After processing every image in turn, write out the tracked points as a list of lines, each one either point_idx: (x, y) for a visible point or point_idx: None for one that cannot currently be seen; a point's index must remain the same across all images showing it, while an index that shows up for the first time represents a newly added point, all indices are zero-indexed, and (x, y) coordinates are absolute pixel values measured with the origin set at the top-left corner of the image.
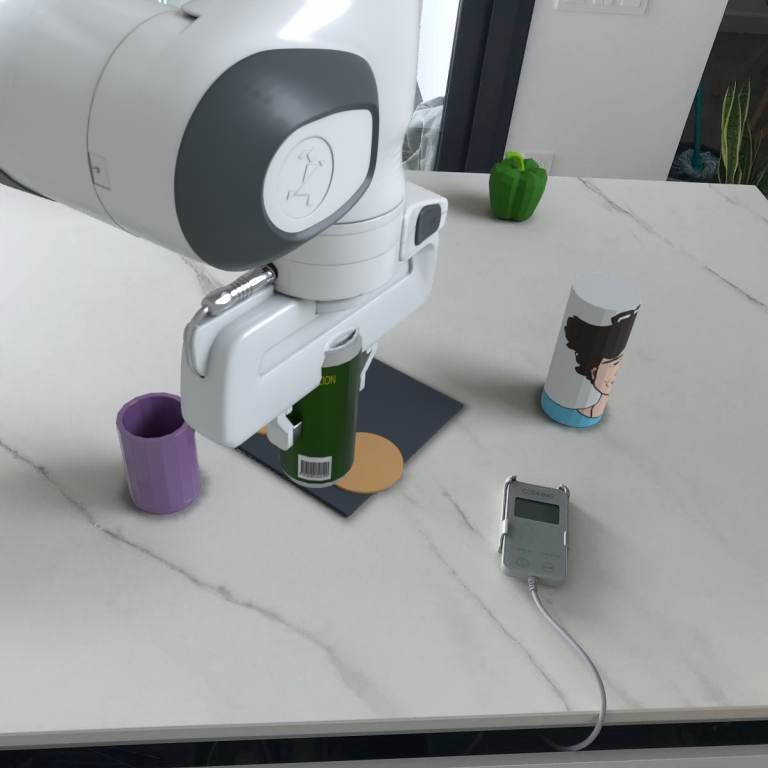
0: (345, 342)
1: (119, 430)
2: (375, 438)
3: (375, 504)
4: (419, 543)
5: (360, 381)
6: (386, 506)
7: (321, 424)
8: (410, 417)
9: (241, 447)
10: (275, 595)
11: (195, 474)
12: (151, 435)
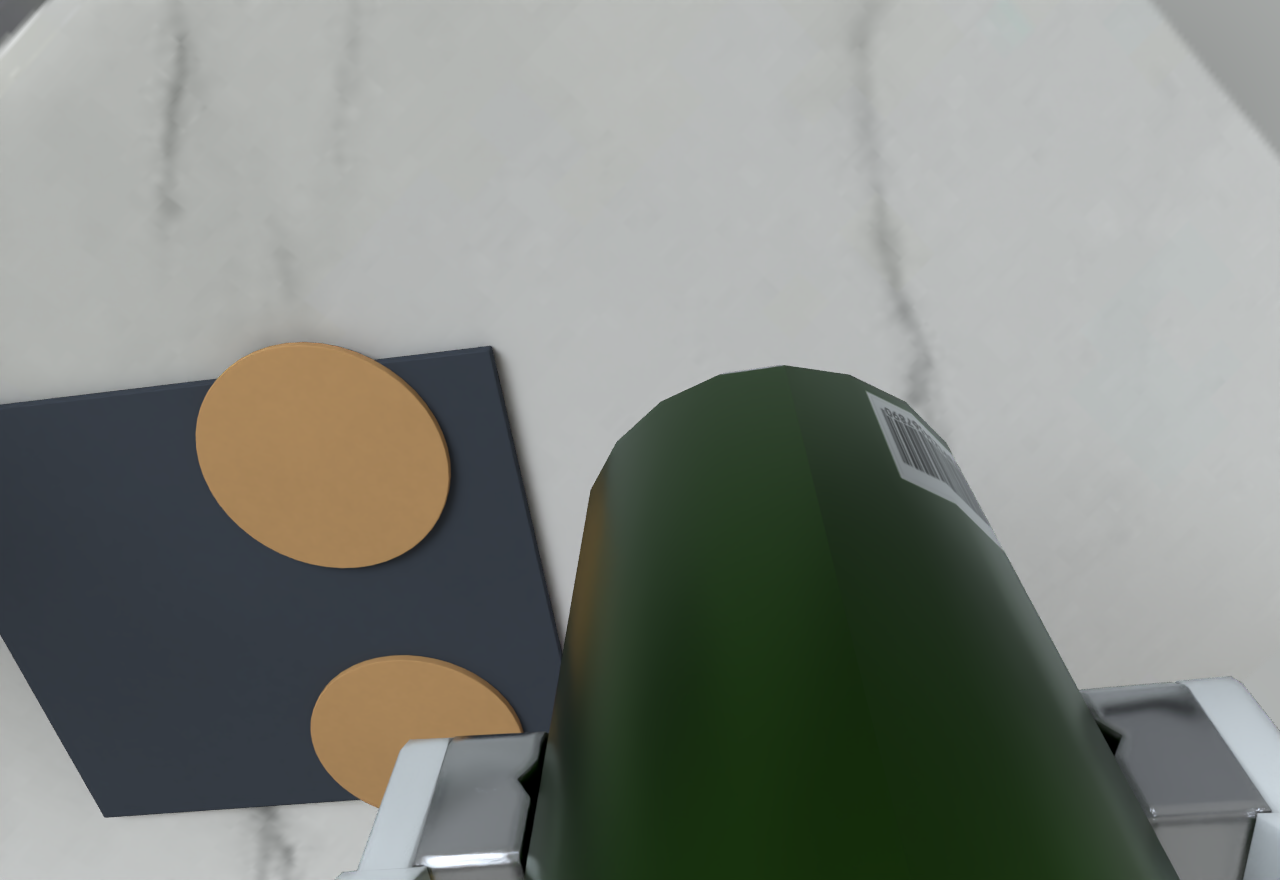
0: None
1: None
2: (232, 497)
3: (389, 326)
4: (374, 124)
5: (429, 812)
6: (366, 299)
7: (1064, 716)
8: (80, 490)
9: None
10: (832, 286)
11: None
12: None
